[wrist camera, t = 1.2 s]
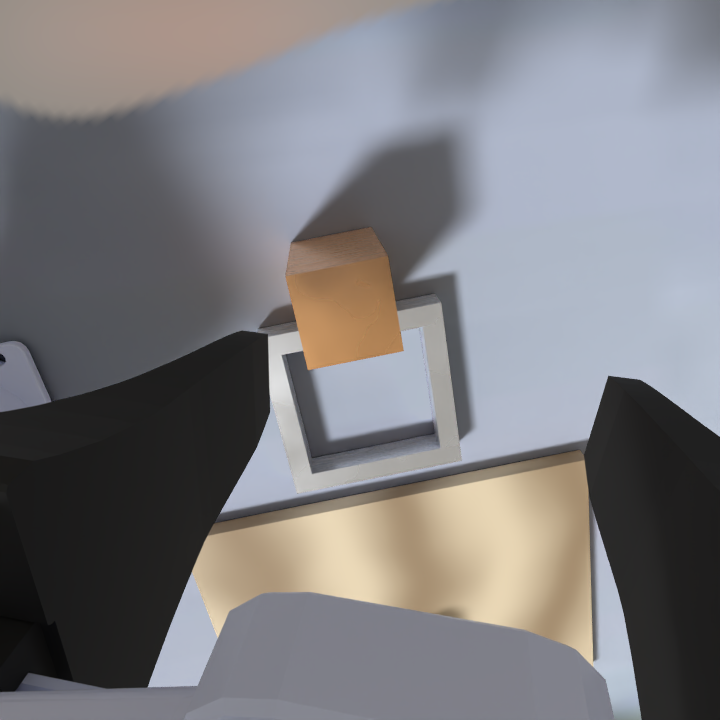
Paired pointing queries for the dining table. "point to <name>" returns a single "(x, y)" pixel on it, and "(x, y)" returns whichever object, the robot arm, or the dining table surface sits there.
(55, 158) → the dining table surface
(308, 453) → the square frame with cube
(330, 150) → the dining table surface
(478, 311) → the dining table surface
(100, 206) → the dining table surface
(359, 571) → the board
